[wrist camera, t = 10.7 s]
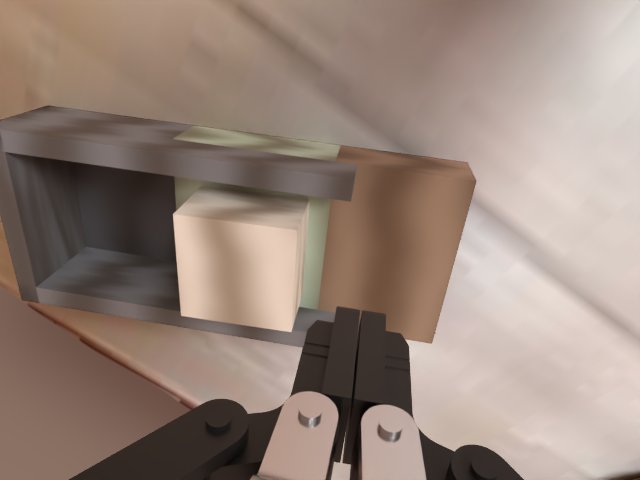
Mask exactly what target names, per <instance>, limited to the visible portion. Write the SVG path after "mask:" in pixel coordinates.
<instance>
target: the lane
mask: <svg viewBox="0 0 640 480" xmlns="http://www.w3.org/2000/svg"><path fill="white" fill-rule="evenodd" d="M475 184H476V179H475V177H474V175H473V173H472V171H471V169H470V167H469V165H468V163H467V162H460V161H453V160H445V159H438V158H430V157H423V156H416V155H408V154H401V153H394V152H386V151H379V150H371V149H364V148H357V147H349V146H342V145H335V144H327V143H320V142H312V141H305V140H298V139H290V138H283V137H275V136H268V135H261V134H253V133H246V132H239V131H231V130H224V129H216V128H209V127H202V126H194V125H187V124H179V123H172V122H165V121H157V120H150V119H143V118H135V117H128V116H120V115H113V114H106V113H98V112H91V111H83V110H76V109H69V108H61V107H54V106H45V107H42V108H38V109H35V110H32V111H29V112H25V113H22V114H19V115H15V116H12V117H9V118H6V119H2V120H0V215H1V219H2V223H3V227H4V231H5V235H6V239H7V243H8V247H9V251H10V255H11V259H12V263H13V267H14V271H15V275H16V279H17V283H18V286H19V290H20V294H21V298H22V300H24V301H30V302H36V303H42V304H48V305H54V306H60V307H66V308H72V309H78V310H84V311H90V312H96V313H102V314H108V315H113V316H119V317H125V318H131V319H137V320H143V321H149V322H155V323H161V324H167V325H173V326H179V327H185V328H191V329H197V330H203V331H208V332H214V333H220V334H226V335H232V336H238V337H244V338H250V339H256V340H262V341H268V342H274V343H280V344H286V345H292V346H297V347H303V346H304V342H305V338H306V334H307V330H308V329H309V328H310V327H311V326H312V324H313V323H314V322H315V321H316V320H322V321H328V322H334V319H335V313H336V308H337V306H340V307H346V308H352V309H358V310H360V317H359V324H360V318H361V312H362V310H365V311H371V312H378V313H384V314H386V331H390V332H396V333H401V334H402V336H403V337H404V339H407V340H413V341H419V342H425V343H431V344H432V341H433V338H434V334H435V330H436V327H437V323H438V319H439V316H440V312H441V308H442V305H443V301H444V297H445V294H446V290H447V287H448V283H449V279H450V276H451V272H452V268H453V265H454V261H455V257H456V254H457V250H458V246H459V243H460V239H461V235H462V232H463V228H464V225H465V221H466V217H467V214H468V210H469V206H470V203H471V199H472V195H473V192H474V188H475ZM201 186H203V187H211V188H219V189H227V190H235V191H243V192H251V193H259V194H267V195H275V196H284V197H292V198H300V199H308V200H310V203H309V217H308V231H307V245H306V259H305V273H304V287H303V295H302V298H301V301H300V305H299V308H298V311H297V315H296V318H295V321H294V325H293V328H292V332H286V331H279V330H273V329H266V328H259V327H253V326H246V325H239V324H232V323H226V322H219V321H212V320H205V319H199V318H192V317H185V316H181V308H180V296H179V284H178V271H177V259H176V246H175V234H174V222H173V214H174V213H175V212H176V211H177V210H178V209H179V208H180V207H181V206H182V205H183V204H184V203H185V202H186V201H187V200H188V199H189V198H190V197H191V196H192V195H193V194H194V193H195V192H196V191H197V190H198V189H199V188H200V187H201ZM358 329H359V327H358Z"/></svg>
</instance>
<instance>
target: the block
mask: <svg viewBox="0 0 640 480" xmlns="http://www.w3.org/2000/svg"><path fill="white" fill-rule="evenodd" d="M309 203H310V200H308V199H300V198H292V197H284V196H275V195H267V194H259V193H251V192H243V191H235V190H227V189H219V188H211V187H203V186H201V187H200V188H199V189H198V190H197V191H196V192H195V193H194V194H193V195H192V196H191V197H190V198H189V199H188V200H187V201H186V202H185V203H184V204H183V205H182V206H181V207H180V208H179V209H178V210H177V211H176V212H175V213H174V214H173V222H174V234H175V246H176V259H177V271H178V284H179V296H180V308H181V316H185V317H192V318H199V319H205V320H212V321H219V322H226V323H232V324H239V325H246V326H253V327H259V328H266V329H273V330H279V331H286V332H292V328H293V325H294V321H295V318H296V315H297V311H298V308H299V305H300V301H301V298H302V295H303V287H304V273H305V259H306V245H307V231H308V217H309Z"/></svg>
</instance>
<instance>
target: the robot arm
mask: <svg viewBox="0 0 640 480" xmlns="http://www.w3.org/2000/svg"><path fill="white" fill-rule="evenodd" d="M359 317H360V310H358V309H352V308H346V307H340V306H337V308H336V313H335V319H334V322H328V321H322V320H316V321H315V322H314V323H313V324H312V326H311V327H310V328H309V329H308V330H307V334H306V338H305V342H304V346H303V350H302V354H301V358H300V361H299V365H298V369H297V373H296V377H295V381H294V385H293V389H292V393H291V395H290V397H289V398H288V399H287V400H286V402H285V403H284V404H283V405H282V406H280V407H278V408H277V409H274V410H272V411H268V412H263V413H253V414H247V412H246V410H245V409H244V408H243V407H242V406H241V405H240V404H239V403H237V402H235V401H232V400H228V399H215V400H211V401H208V402H205V403H203V404H201V405H200V406H198V407H196V408H194V409H193V410H191V411H189V412H187V413H186V414H184V415H182V416H180V417H179V418H177V419H175V420H173V421H171V422H170V423H168V424H166V425H165V426H163V427H161V428H159V429H157V430H156V431H154V432H152V433H150V434H148V435H147V436H145V437H143V438H141V439H140V440H138V441H136V442H134V443H133V444H131V445H129V446H127V447H126V448H124V449H122V450H120V451H119V452H117V453H115V454H113V455H111V456H110V457H108V458H106V459H104V460H103V461H101V462H99V463H97V464H96V465H94V466H92V467H90V468H89V469H87V470H85V471H83V472H81V473H80V474H78V475H76V476H74V477H73V478H71V479H69V480H331V475H332V470H333V464H334V462H339V463H340V460H341V454H342V449H343V443H344V438H345V444H344V454H343V463H345V464H351V470H350V480H524V479H523V478H522V477H521V476H520V475H519V474H518V473H517V472H516V471H515V470H514V469H513V468H512V467H511V466H510V465H509V464H508V463H507V462H506V461H505V460H504V459H503V458H502V457H500V456H499V455H498V454H497V453H495V452H494V451H492V450H490V449H488V448H486V447H483V446H479V445H465V446H462V447H460V448H458V449H457V450H456V451H455V452H454V451H452V450H450V449H448V448H445V447H443V446H441V445H439V444H437V443H435V442H433V441H432V440H430V439H429V438H428V437H426V436H425V435H424V434H423V433H422V432H421V431H420V429H419V428H418V426H417V424H416V422H415V421H414V418H413V414H412V397H411V378H410V362H409V346H408V344H407V342H406V341H405V339H404V337H403V336H402V334H401V333H396V332H390V331H386V314H384V313H378V312H371V311H365V310H362V312H361V318H360V324H359ZM358 327H359V329H358ZM345 432H346V435H345Z"/></svg>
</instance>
